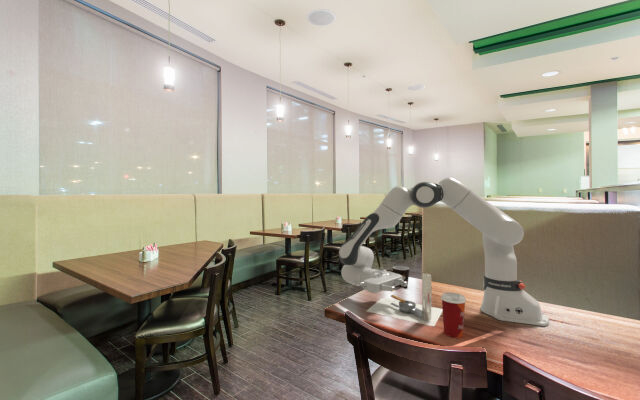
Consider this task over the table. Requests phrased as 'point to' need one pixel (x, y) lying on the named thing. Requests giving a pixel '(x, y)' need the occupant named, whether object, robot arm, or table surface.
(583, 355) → the table surface
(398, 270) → the coffee mug
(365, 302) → the table surface
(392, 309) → the board
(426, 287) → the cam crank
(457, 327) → the paper cup
